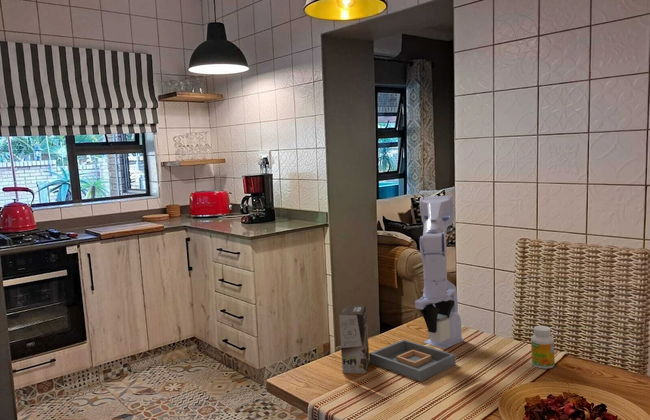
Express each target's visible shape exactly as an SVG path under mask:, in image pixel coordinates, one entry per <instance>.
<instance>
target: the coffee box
mask: <svg viewBox="0 0 650 420" xmlns="http://www.w3.org/2000/svg"><path fill="white" fill-rule="evenodd" d="M367 319H368V318H367V305H366V304H356V305H355V304H354V305H353V304H352V305H344V306H343V307H342V309H341V311H340V312H339V314H338V320H339V321H338V323H339V335H340V336H339V337H340V338H339V339H340V354H341V366H342V367H341V368H342V373H343V374H366V373H367V370H368V366H369V364H370V358H369V353H370V347H369V346H370V345H369V335H368V334H369V333H368V321H367Z"/></svg>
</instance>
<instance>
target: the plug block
mask: <svg viewBox="0 0 650 420" xmlns="http://www.w3.org/2000/svg"><path fill="white" fill-rule="evenodd" d="M427 334H428V340H429V339H431V340H435V341H439V342H442V341H445V340H447V339H449V338H450V320H449V318H447V316H446V315H442V314H438V316H437V330H436V333H432V332H429V331H428V330H427Z"/></svg>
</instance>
